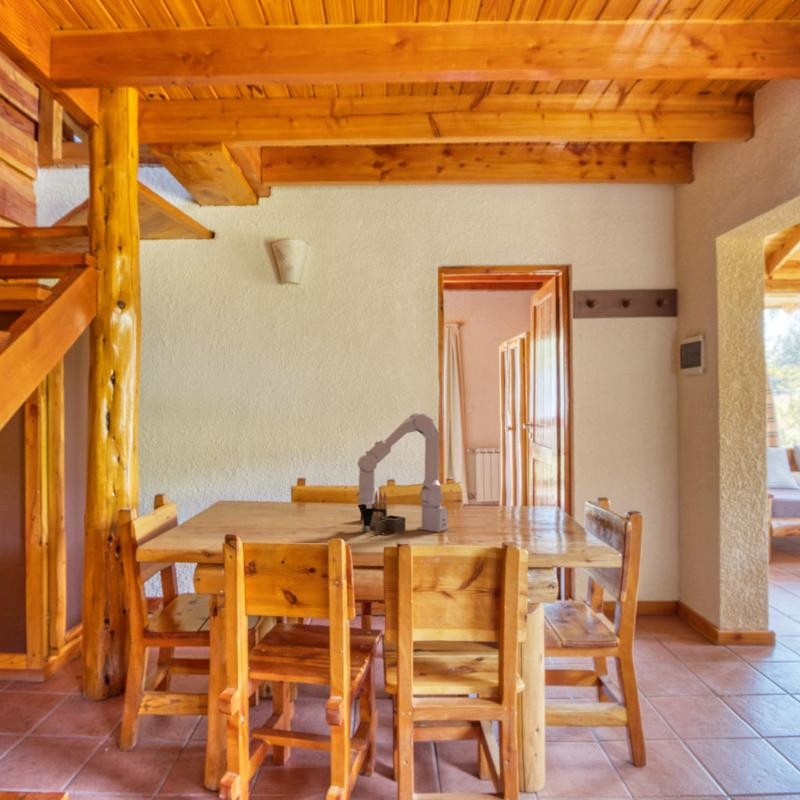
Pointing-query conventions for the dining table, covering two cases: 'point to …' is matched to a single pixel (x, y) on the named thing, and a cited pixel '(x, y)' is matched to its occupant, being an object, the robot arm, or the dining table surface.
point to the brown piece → (387, 524)
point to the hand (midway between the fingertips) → (366, 524)
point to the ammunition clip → (380, 505)
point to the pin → (365, 527)
